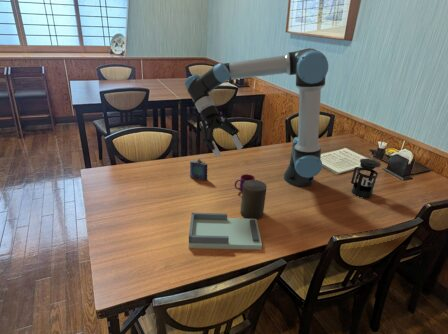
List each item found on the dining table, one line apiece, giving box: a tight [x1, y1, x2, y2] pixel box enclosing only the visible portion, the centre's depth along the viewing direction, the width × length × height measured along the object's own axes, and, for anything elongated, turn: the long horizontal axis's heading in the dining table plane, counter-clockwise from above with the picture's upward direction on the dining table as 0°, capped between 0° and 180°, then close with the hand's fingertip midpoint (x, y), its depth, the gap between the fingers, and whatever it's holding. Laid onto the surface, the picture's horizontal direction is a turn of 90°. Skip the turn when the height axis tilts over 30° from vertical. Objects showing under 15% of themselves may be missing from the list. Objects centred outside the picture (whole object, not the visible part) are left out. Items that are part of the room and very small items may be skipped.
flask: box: [189, 158, 208, 182], centre depth 154 cm, size 9×3×11 cm, turn 71°
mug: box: [234, 173, 256, 193], centre depth 146 cm, size 7×10×7 cm
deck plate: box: [188, 212, 263, 251], centre depth 115 cm, size 26×16×4 cm, turn 91°
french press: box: [350, 148, 382, 199], centre depth 146 cm, size 12×9×23 cm
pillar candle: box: [240, 179, 268, 220], centre depth 127 cm, size 10×10×15 cm
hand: (230, 152), depth 129 cm, fingers open, 13 cm apart
